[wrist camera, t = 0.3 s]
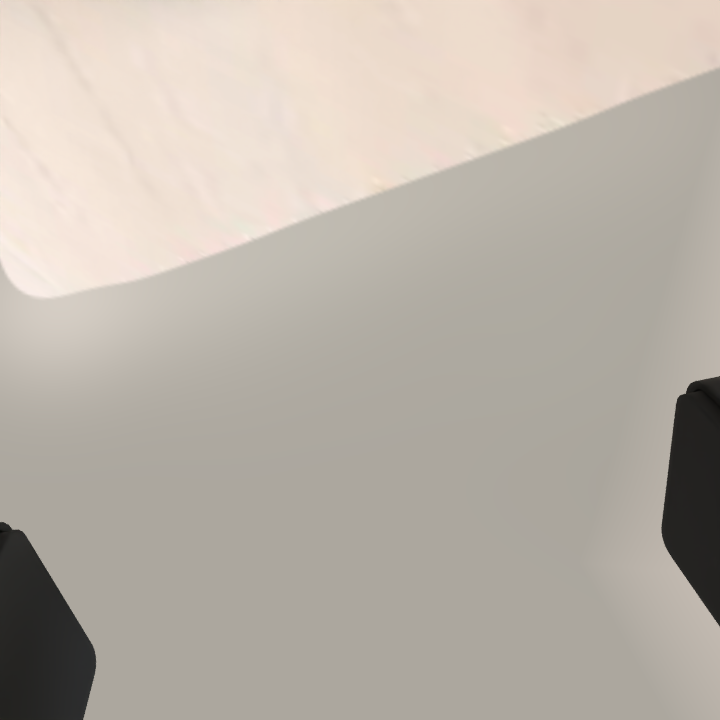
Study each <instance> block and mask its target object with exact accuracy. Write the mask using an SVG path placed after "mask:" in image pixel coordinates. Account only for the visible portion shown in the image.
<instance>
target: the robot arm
mask: <svg viewBox="0 0 720 720" xmlns="http://www.w3.org/2000/svg"><path fill="white" fill-rule="evenodd" d="M662 537H663V541H664V544H665V546H666V548H667V550H668V552H669V554H670V555H671V557H672V558H673V560H674V561H675V562H676V564H677V565H678V567H679V568H680V570H681V571H682V573H683V574H684V576H685V577H686V578H687V580H688V581H689V583H690V584H691V586H692V587H693V589H694V590H695V591H696V593H697V594H698V596H699V597H700V599H701V600H702V601H703V603H704V604H705V606H706V607H707V609H708V610H709V612H710V613H711V615H712V616H713V617H714V619H715V620H716V622H717V623H718V624H719V626H720V376H719V377H715V378H710V379H704V380H700V381H695V382H693V383H691V384H690V385H689V386H688V388H687V391H686V394H683V395H680V396H679V397H678V399H677V403H676V411H675V419H674V427H673V436H672V444H671V452H670V460H669V469H668V478H667V486H666V494H665V502H664V511H663V519H662ZM95 669H96V656H95V651H94V648H93V645H92V644H91V642H90V640H89V639H88V637H87V635H86V634H85V632H84V630H83V629H82V627H81V625H80V624H79V622H78V621H77V619H76V617H75V616H74V614H73V612H72V611H71V609H70V607H69V606H68V604H67V602H66V601H65V599H64V598H63V596H62V594H61V593H60V591H59V589H58V588H57V586H56V585H55V583H54V581H53V579H52V578H51V576H50V575H49V573H48V571H47V570H46V568H45V566H44V565H43V563H42V561H41V560H40V558H39V557H38V555H37V553H36V552H35V550H34V548H33V547H32V545H31V543H30V542H29V540H28V539H27V537H26V535H25V534H24V533H23V532H22V531H20V530H12V529H11V527H10V526H9V525H8V524H6V523H4V522H0V720H83V718H84V714H85V710H86V706H87V702H88V698H89V694H90V691H91V686H92V682H93V679H94V675H95Z"/></svg>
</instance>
